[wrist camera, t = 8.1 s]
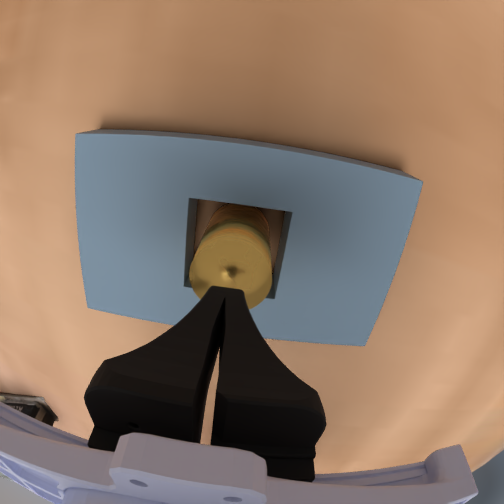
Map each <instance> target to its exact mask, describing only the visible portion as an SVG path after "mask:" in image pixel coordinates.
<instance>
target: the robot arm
mask: <svg viewBox="0 0 504 504" xmlns="http://www.w3.org/2000/svg"><path fill="white" fill-rule="evenodd" d="M219 347H220V350H219ZM218 351H219V377H218V383H217V389H216V398H215V407H214V417H213V427H212V436H211V444H210V445H205V444H200V440H201V433H202V425H203V418H204V411H205V405H206V398H207V393H208V388H209V384H210V381H211V377H212V373H213V369H214V366H215V362H216V358H217V354H218ZM84 400H85V404H86V406H87V409H88V411H89V414H90V416H91V418H92V420H93V423H94V425H95V426H94V428H93V431H92V433H91V436H90V438H89V440H86V439H84V438H81V437H78V436H75V435H73V434H70V433H67V432H65V431H62V430H60V429H57V428H55V427H52V426H50V425H48V424H45V423H43V422H41V421H39V420H36V419H34V418H32V417H30V416H28V415H26V414H23V413H21V412H19V411H17V410H15V409H13V408H11V407H10V406H8V405H6V404H4V403H2V402H0V472H1V473H3V474H4V475H6V476H7V477H9V478H10V479H12V480H13V481H15V482H17V483H18V484H20V485H22V486H23V487H25V488H27V489H28V490H30V491H32V492H33V493H35V494H37V495H39V496H41V497H42V498H44V499H46V500H48V501H50V502H52V503H54V504H464V503H465V502H467V501H468V500H470V499H471V498H473V497H474V496H476V495H477V494H478V490H477V487H476V484H475V482H474V479H473V476H472V473H471V470H470V468H469V465H468V462H467V460H466V457H465V455H464V452H463V450H462V447H461V445H459V444H458V445H454V446H450V447H446V448H442V449H439V450H436V451H435V452H433V453H432V454H430V455H429V456H428V457H427V458H426V459H425V461H423V462H418V463H413V464H407V465H402V466H396V467H390V468H383V469H375V470H367V471H358V472H346V473H332V474H315V471H314V461H313V459H314V458H315V456H316V452H315V445H316V443H317V442H318V440H319V438H320V437H321V435H322V434H323V432H324V430H325V427H326V417H325V412H324V409H323V406H322V403H321V400H320V397H319V395H318V392H317V391H316V390H314V389H313V388H311V387H310V386H309V385H307V384H306V383H305V382H303V381H302V380H300V379H299V378H298V377H297V376H296V375H295V374H293V373H292V372H291V371H290V370H289V369H288V368H287V367H286V366H285V365H284V364H283V363H282V362H281V361H280V360H279V359H278V357H277V356H276V355H275V354H274V352H273V351H272V350H271V348H270V347H269V346H268V344H267V343H266V341H265V340H264V338H263V337H262V335H261V333H260V331H259V330H258V328H257V326H256V324H255V322H254V320H253V318H252V315H251V313H250V311H249V308H248V305H247V302H246V299H245V294H244V291H243V290H242V289H234V288H227V287H220V286H213V285H212V286H211V287H209V289H208V290H207V292H206V293H205V295H204V296H203V297H202V298H201V300H200V301H199V302H198V303H197V304H196V305H195V306H194V307H193V309H192V310H191V311H190V312H189V313H188V314H187V315H185V316H184V317H183V318H182V319H181V320H180V321H179V322H178V323H177V324H175V325H174V326H173V327H172V328H170V329H169V330H168V331H166V332H165V333H164V334H162V335H161V336H159V337H157V338H156V339H154V340H153V341H151V342H149V343H148V344H146V345H144V346H142V347H140V348H137V349H135V350H133V351H131V352H128V353H125V354H123V355H120V356H117V357H114V358H111V359H107V360H104V361H103V363H102V364H101V366H100V367H99V368H98V370H97V371H96V373H95V374H94V376H93V378H92V380H91V382H90V384H89V386H88V388H87V390H86V392H85V395H84Z"/></svg>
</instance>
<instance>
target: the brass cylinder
mask: <svg viewBox="0 0 504 504" xmlns="http://www.w3.org/2000/svg"><path fill="white" fill-rule="evenodd" d="M189 278H190V283H191V286H192V289H193V291H194V292H195V294H196V295H197V296H198V298H199V299H200V300H201V298H202V297H203V296H204V295H205V293H206V292H207V290H208V289H209V287H211V286H212V285H213V286H220V287H227V288H234V289H242V290H243V291H244V294H245V299H246V302H247V305H248V308H249V309H252V308H254V307H255V306H257V305H258V304H260V303H261V302H262V301H263V300H264V299H265V298H266V296H267V295H268V293H269V291H270V288H271V285H272V267H271V249H270V232H269V225H268V222H267V220H266V218H265V216H264V215H263V214H262V213H261V212H260V211H259V210H258V209H257V208H255V207H254V206H248V205H241V204H233V203H231V204H227V205H225V206H223V207H221V208H220V209H218V210H217V211H216V212H215V213H214V215H213V216H212V218H211V220H210V222H209V224H208V226H207V229H206V231H205V233H204V235H203V238H202V240H201V242H200V245H199V247H198V249H197V251H196V254H195V256H194V258H193V261H192V263H191V266H190V271H189Z"/></svg>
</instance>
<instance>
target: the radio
mask: <svg viewBox="0 0 504 504" xmlns="http://www.w3.org/2000/svg"><path fill="white" fill-rule="evenodd" d="M0 402H2V403H4V404H6V405H8V406H10V407H11V408H13V409H15V410H17V411H19V412H21V413H23V414H26V415H28V416H30V417H32V418H34V419H36V420H39V421H41V422H43V423H45V424H48V425H50V426H53V423H54V421H58V417H57V416H56V414H55V413H54V412H53V411H52V410H51V408H50V407H49V406H48V405H47V403H46V402H45V400H44V398H43V397H36V396H24V395H13V394H4V393H0ZM0 477H3V478H5V479H7V480H10V481H13V480H12V479H10V478H9V477H7V476H6V475H4V474H3V473H1V472H0ZM13 482H15V481H13Z"/></svg>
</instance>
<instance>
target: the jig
mask: <svg viewBox="0 0 504 504" xmlns="http://www.w3.org/2000/svg"><path fill="white" fill-rule="evenodd" d="M422 184H423V181H421V180H419V179H417V178H415V177H413V176H411V175H409V174H407V173H405V172H403V171H400V170H396V169H392V168H389V167H385V166H381V165H377V164H373V163H369V162H365V161H360V160H356V159H352V158H347V157H343V156H338V155H333V154H328V153H323V152H318V151H313V150H308V149H303V148H297V147H291V146H285V145H279V144H273V143H266V142H260V141H253V140H245V139H238V138H230V137H221V136H212V135H202V134H191V133H178V132H164V131H146V130H117V129H98V130H93V131H87V132H82V133H77V134H76V138H75V195H76V215H77V229H78V241H79V251H80V260H81V268H82V275H83V282H84V289H85V295H86V301H87V307H88V308H90V309H95V310H99V311H104V312H108V313H113V314H117V315H122V316H127V317H132V318H137V319H142V320H147V321H153V322H158V323H164V324H169V325H175V324H177V323H178V322H179V321H180V320H181V319H182V318H183V317H184V316H185V315H187V314H188V313H189V312H190V311H191V310H192V309H193V307H194V306H195V305H196V304H197V303H198V302H199V301H200V299H199V298H198V296H197V295H196V294H195V292H194V291H193V289H192V286H191V283H190V278H189V271H190V266H191V263H192V261H193V253H194V239H195V225H196V213H197V201H198V199H203V200H211V201H218V202H226V203H233V204H241V205H248V206H255V207H262V208H269V209H276V210H282V211H285V216H284V221H283V226H282V232H281V237H280V242H279V247H278V252H277V257H276V263H275V268H274V273H273V275H272V285H271V288H270V291H269V293H268V295H267V296H266V298H265V299H264V300H263V301H262V302H261V303H260V304H258V305H257V306H255V307H254V308H252V309H249V311H250V313H251V315H252V318H253V320H254V322H255V324H256V326H257V328H258V330H259V331H260V333H261V335H262V337H263V338H268V339H277V340H287V341H297V342H309V343H321V344H336V345H352V346H365V345H366V342H367V340H368V338H369V336H370V333H371V331H372V329H373V327H374V324H375V322H376V320H377V317H378V315H379V313H380V310H381V308H382V305H383V303H384V300H385V298H386V295H387V293H388V290H389V288H390V285H391V282H392V280H393V277H394V274H395V272H396V269H397V266H398V263H399V260H400V257H401V255H402V252H403V249H404V246H405V243H406V240H407V236H408V233H409V230H410V227H411V224H412V220H413V217H414V214H415V210H416V207H417V203H418V199H419V196H420V192H421V188H422Z"/></svg>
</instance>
